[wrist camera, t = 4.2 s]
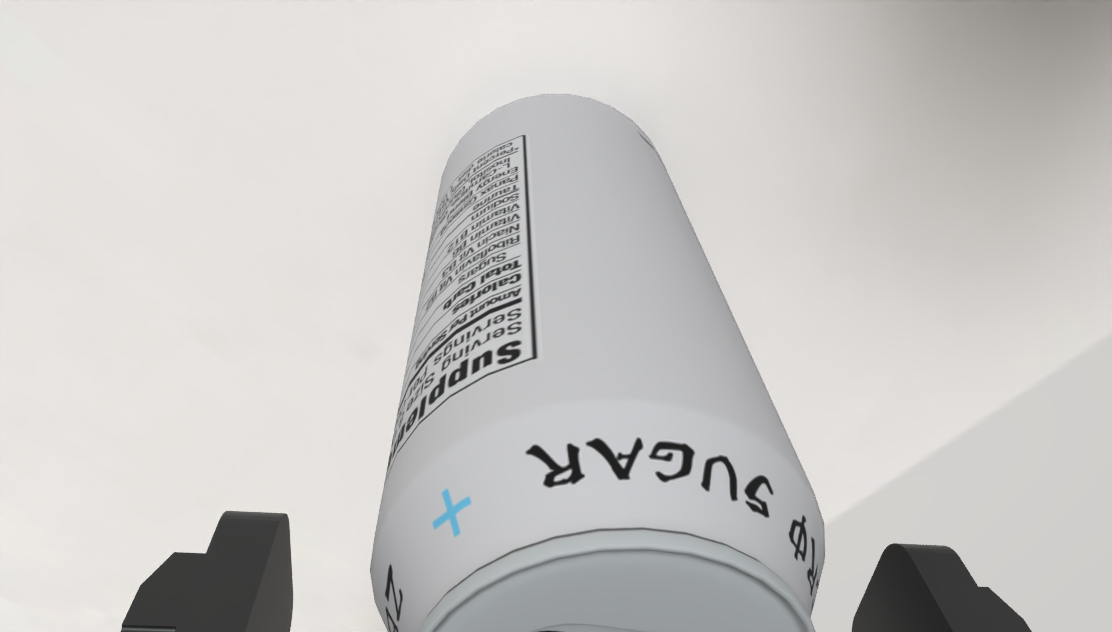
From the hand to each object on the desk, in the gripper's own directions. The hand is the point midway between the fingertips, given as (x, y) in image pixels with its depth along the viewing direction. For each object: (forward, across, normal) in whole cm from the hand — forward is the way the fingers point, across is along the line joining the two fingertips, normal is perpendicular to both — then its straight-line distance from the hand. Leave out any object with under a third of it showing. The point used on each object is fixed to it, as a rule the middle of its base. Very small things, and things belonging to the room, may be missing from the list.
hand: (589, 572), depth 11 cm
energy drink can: (+13, 0, 0) cm, 13 cm away
